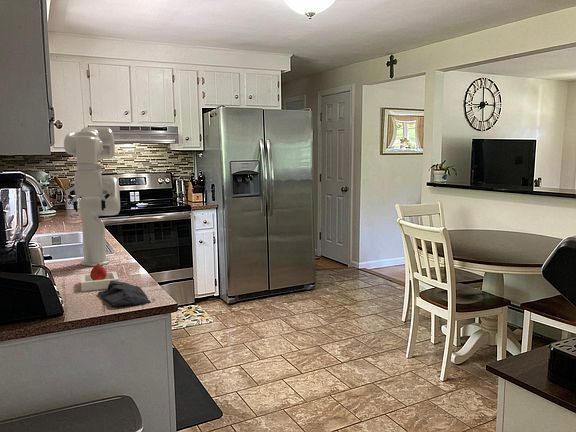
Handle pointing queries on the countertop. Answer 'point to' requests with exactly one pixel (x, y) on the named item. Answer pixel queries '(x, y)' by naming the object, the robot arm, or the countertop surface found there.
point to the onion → (98, 273)
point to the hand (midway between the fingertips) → (89, 210)
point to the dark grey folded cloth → (124, 294)
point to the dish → (97, 281)
